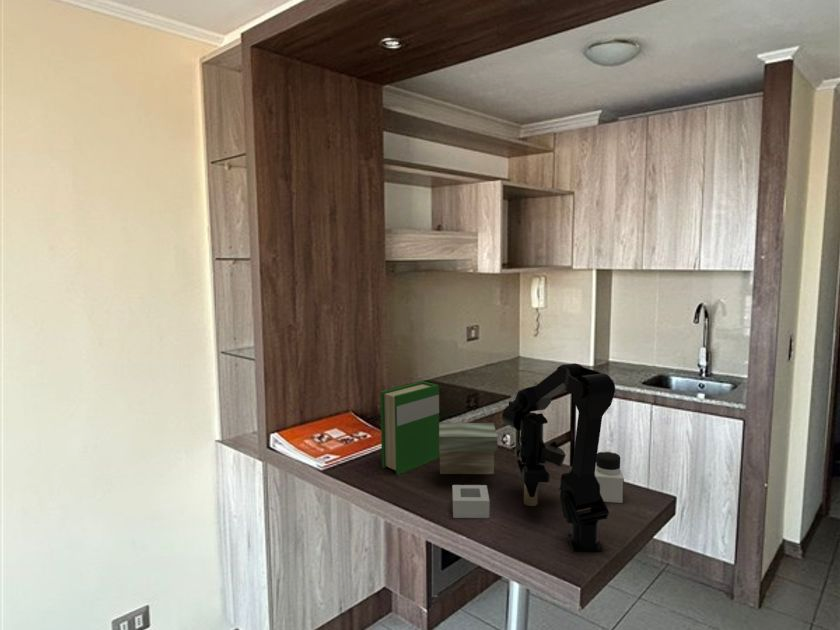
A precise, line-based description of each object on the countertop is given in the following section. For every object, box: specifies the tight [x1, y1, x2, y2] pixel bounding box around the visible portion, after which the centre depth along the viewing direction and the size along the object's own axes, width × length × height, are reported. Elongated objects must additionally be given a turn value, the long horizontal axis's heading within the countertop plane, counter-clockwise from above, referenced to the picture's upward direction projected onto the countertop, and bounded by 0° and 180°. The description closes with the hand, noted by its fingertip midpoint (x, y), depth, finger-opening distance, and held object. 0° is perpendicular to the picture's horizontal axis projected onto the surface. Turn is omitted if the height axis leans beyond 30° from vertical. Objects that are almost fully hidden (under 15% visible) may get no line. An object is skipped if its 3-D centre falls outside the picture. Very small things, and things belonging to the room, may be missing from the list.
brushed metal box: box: [439, 422, 498, 475], centre depth 158 cm, size 12×16×15 cm
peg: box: [523, 482, 539, 507], centre depth 144 cm, size 4×4×9 cm
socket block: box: [452, 484, 490, 519], centre depth 141 cm, size 9×9×4 cm
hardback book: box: [379, 380, 440, 475], centre depth 171 cm, size 18×7×24 cm, turn 134°
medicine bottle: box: [595, 450, 625, 504], centre depth 147 cm, size 7×7×12 cm
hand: (530, 493), depth 145 cm, fingers closed on peg, 3 cm apart
